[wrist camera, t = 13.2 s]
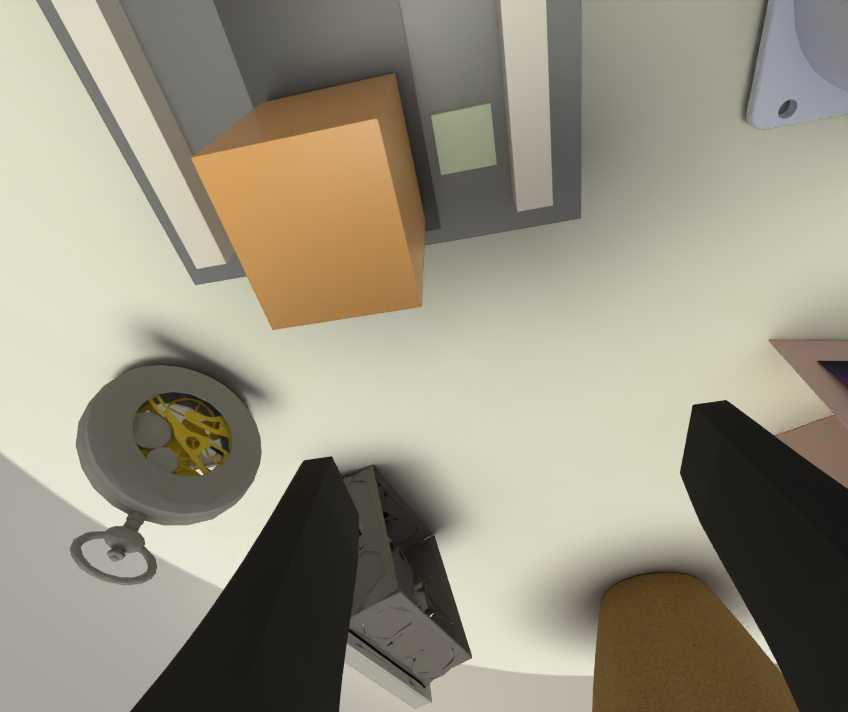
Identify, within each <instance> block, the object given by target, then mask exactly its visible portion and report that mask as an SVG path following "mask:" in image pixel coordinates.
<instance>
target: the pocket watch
mask: <svg viewBox="0 0 848 712" xmlns="http://www.w3.org/2000/svg"><path fill="white" fill-rule="evenodd" d="M76 448H77V452H78V456H79V459H80V463H81V467H82V470H83V471H84V473H85V475H86V476H87V478H88V479H89V481H90V483H91V484H92V486H93V488H94V489H95V490H96V491H97V492H98V493H99V494H101V495H102V496H103V497H104V498H105V499H106V500H107V501H108V502H109V503H110V504H111V505H113V506H114V507H116V508H118V509H120V510H121V511H123V512H125V513H127V514H129V515H128V517H127V518H126V519H127V521H126V522H125V524H124V525H123V526H115V527H111V528H109V529H108V530H106V531H105V532H89V533H85V534H83V535H81V536H79V537H78V538H76V539H74V540H73V543H72V545H71V548H70V552H71V556H72V558H73V559H74V560H75V562H76V563H77V565H78V566H79V567H80V568H81V569H82V570H83V571H85V572H86V573H88V574H90V575H92V576H94V577H96V578H98V579H100V580H102V581H106V582H110V583H116V584H120V585H133V584H141V583H144V582H146V581H148V580H149V579H152V577H153V576H154V575H155V574H156V569H157V564H156V559H155V558H154V556H153V555H152V554H151V553H150V552H149V551H148V550H147V549H146V548H145V546H144V545H145V541H144V538H143V537H142V535H141V534H140V533H138V530H139V528H140V525H142V524H143V523H144V520H145V521H149V522H153V523H157V524H160V525H190V524H194V523H198V522H203V521H207V520H211V519H214V518H215V517H217V516H218V515H220V514H221V513H223V512H224V511H226V510H227V509H229V508H231V507H232V506H234V505H235V504H236V503H237V502H238V501H239V500H240V499H241V498H242V497H243V495H244V494H245V493H246V491H247V490H248V488H249V487H250V485H251V484H252V483H253V481H254V479H255V475H256V473H257V470H258V468H259V465H260V460H261V453H262V452H261V441H260V435H259V432H258V428H257V425H256V423H255V421H254V419H253V417H252V415H251V413H250V412H249V411H248V409H247V408H246V407H245V405H244V404H243V403H242V402H241V400H240V399H239V398H238V397H237V396H236V395H235V394H234V393H233V392H232V391H230V390H229V389H228V388H227V387H225V386H224V385H223V384H221V383H219V382H218V381H216V380H214V379H213V378H211V377H209V376H206V375H204V374H202V373H199V372H197V371H193V370H189V369H185V368H181V367H175V366H166V365H155V366H143V367H138V368H135V369H132V370H130V371H127V372H125V373H124V374H122V375H121V376H119V377H118V378H116V379H115V380H113V381H111V382H109V383H108V384H106V385H104V386H103V388H102V389H101V390H100V391H99V392H98V393H97V394H96V395H95V396H94V398H93V399H92V400H91V401H90V402H89V404H88V405H87V407H86V409H85V411H84V413H83V415H82V417H81V419H80V421H79V424H78V432H77V440H76ZM215 466H216V467H215ZM209 467H215V468H214V469H213V470H212V471H211V470H209V469H208V468H209ZM192 468H193V469H192ZM196 469H200V470H201V472H202V473H203V474H204V475H200V474H199V473H197V472H196ZM102 538H104V540H105V542H106V544H107V545H109V546H110V547H111V548H112V549H111V550H110V551H108V553H107V555H108V556H109V557H110V559H111V560H112V561H117V560H122V559H123V558H124V557H125V553H133V552H138V551H139V552H140V553H141V554H143V556H144V558H145V560H146V562H147V564H148V569H147V572H145V573H144V574H142V575H140V576H137V577H133V578H130V577H125V578H123V577H117V576H113V575H109V574H106V573H103V572H102V571H100V570H98V569H96V568H94V567H93V566H91V565H90V563H89V562H88V561H87V560H86V559H85V558H84V556H83V554H82V550H81V546H82V545H83V544H84V543H85V542H87V541H90V540H92V539H102Z"/></svg>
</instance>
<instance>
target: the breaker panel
mask: <svg viewBox="0 0 848 712" xmlns="http://www.w3.org/2000/svg"><path fill="white" fill-rule="evenodd" d="M36 1H37V3H38V4H39V6H40V8H41V10H42V11H43V13H44V15H45V17H46V19H47V20H48V22H49V24H50V26H51V28H52V29H53V31H54V33H55V35H56V37H57V38H58V40H59V42H60V44H61V46H62V47H63V49H64V51H65V53H66V54H67V56H68V58H69V60H70V62H71V63H72V65H73V67H74V69H75V71H76V72H77V74H78V76H79V78H80V80H81V81H82V83H83V85H84V87H85V89H86V90H87V92H88V94H89V96H90V97H91V99H92V101H93V103H94V105H95V106H96V108H97V110H98V112H99V114H100V115H101V117H102V119H103V121H104V123H105V124H106V126H107V128H108V130H109V131H110V133H111V135H112V137H113V139H114V140H115V142H116V144H117V146H118V148H119V149H120V151H121V153H122V155H123V157H124V158H125V160H126V162H127V164H128V166H129V167H130V169H131V171H132V173H133V174H134V176H135V178H136V180H137V182H138V183H139V185H140V187H141V189H142V191H143V192H144V194H145V196H146V198H147V200H148V201H149V203H150V205H151V207H152V209H153V210H154V212H155V214H156V216H157V217H158V219H159V221H160V223H161V225H162V226H163V228H164V230H165V232H166V234H167V235H168V237H169V239H170V241H171V243H172V244H173V246H174V248H175V250H176V252H177V253H178V255H179V257H180V259H181V260H182V262H183V264H184V266H185V268H186V269H187V271H188V273H189V275H190V277H191V278H192V280H193V282H194V284H195V285H199V284H205V283H210V282H216V281H222V280H228V279H233V278H239V277H245V276H247V275H246V273H245V271H244V269H243V266H242V264H241V262H240V260H239V258H238V256H237V254H236V252H235V250H234V248H233V246H232V243H231V241H230V239H229V237H228V235H227V233H226V231H225V229H224V227H223V225H222V222H221V220H220V218H219V216H218V214H217V212H216V210H215V208H214V206H213V204H212V201H211V199H210V197H209V195H208V193H207V191H206V189H205V187H204V185H203V183H202V180H201V178H200V176H199V174H198V172H197V170H196V168H195V166H194V164H193V162H192V159H191V157H193V156H194V155H195V154H197V153H198V152H199V151H200V150H202V149H203V148H204V147H206V146H207V145H208V144H209V143H211V142H212V141H213V140H215V139H216V138H217V137H218V136H220V135H221V134H222V133H224V132H225V131H226V130H228V129H229V128H230V127H231V126H233V125H234V124H235V123H237V122H238V121H239V120H240V119H242V118H243V117H244V116H246V115H247V114H248V113H249V112H251V111H252V110H253V109H255V108H256V107H257V106H259V105H260V104H261V103H262V102H267V101H271V100H276V99H280V98H285V97H289V96H293V95H298V94H302V93H307V92H311V91H316V90H320V89H325V88H329V87H334V86H338V85H343V84H347V83H351V82H356V81H360V80H365V79H369V78H374V77H378V76H383V75H387V74H392V73H395V74H396V79H397V84H398V89H399V94H400V99H401V103H402V108H403V113H404V118H405V123H406V128H407V133H408V138H409V143H410V148H411V153H412V157H413V162H414V167H415V172H416V177H417V182H418V187H419V192H420V197H421V202H422V206H423V211H424V216H425V242H424V245H430V244H435V243H441V242H447V241H453V240H458V239H464V238H470V237H476V236H481V235H487V234H493V233H499V232H504V231H510V230H516V229H522V228H528V227H533V226H539V225H545V224H551V223H556V222H562V221H568V220H574V219H579V218H581V0H36Z"/></svg>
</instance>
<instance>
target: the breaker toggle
mask: <svg viewBox="0 0 848 712" xmlns="http://www.w3.org/2000/svg"><path fill="white" fill-rule="evenodd" d="M191 159H192V162H193V164H194V166H195V168H196V170H197V172H198V174H199V176H200V178H201V180H202V183H203V185H204V187H205V189H206V191H207V193H208V195H209V197H210V199H211V201H212V204H213V206H214V208H215V210H216V212H217V214H218V216H219V218H220V220H221V222H222V225H223V227H224V229H225V231H226V233H227V235H228V237H229V239H230V241H231V243H232V246H233V248H234V250H235V252H236V254H237V256H238V258H239V260H240V262H241V264H242V266H243V269H244V271H245V273H246V275H247V277H248V279H249V281H250V283H251V285H252V287H253V290H254V292H255V294H256V296H257V298H258V300H259V302H260V304H261V306H262V308H263V311H264V313H265V315H266V317H267V319H268V321H269V323H270V325H271V327H272V329H273V330H275V329H281V328H288V327H294V326H301V325H307V324H313V323H320V322H326V321H333V320H339V319H345V318H352V317H358V316H365V315H371V314H377V313H384V312H390V311H397V310H403V309H409V308H416V307H422V290H423V266H424V242H425V216H424V211H423V206H422V202H421V197H420V192H419V187H418V182H417V177H416V172H415V167H414V162H413V157H412V153H411V148H410V143H409V138H408V133H407V128H406V123H405V118H404V113H403V108H402V103H401V99H400V94H399V89H398V84H397V79H396V74H395V73H392V74H387V75H383V76H378V77H374V78H369V79H365V80H360V81H356V82H351V83H347V84H343V85H338V86H334V87H329V88H325V89H320V90H316V91H311V92H307V93H302V94H298V95H293V96H289V97H285V98H280V99H276V100H271V101H267V102H262V103H261V104H260V105H259V106H257V107H256V108H255V109H253V110H252V111H251V112H249V113H248V114H247V115H246V116H244V117H243V118H242V119H240V120H239V121H238V122H237V123H235V124H234V125H233V126H231V127H230V128H229V129H228V130H226V131H225V132H224V133H222V134H221V135H220V136H218V137H217V138H216V139H215V140H213V141H212V142H211V143H209V144H208V145H207V146H206V147H204V148H203V149H202V150H200V151H199V152H198V153H197V154H195V155H194V156H193V157H191Z"/></svg>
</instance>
